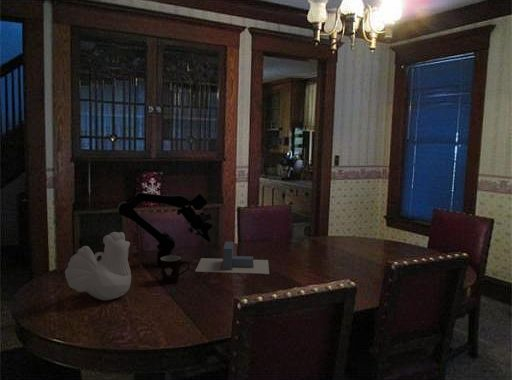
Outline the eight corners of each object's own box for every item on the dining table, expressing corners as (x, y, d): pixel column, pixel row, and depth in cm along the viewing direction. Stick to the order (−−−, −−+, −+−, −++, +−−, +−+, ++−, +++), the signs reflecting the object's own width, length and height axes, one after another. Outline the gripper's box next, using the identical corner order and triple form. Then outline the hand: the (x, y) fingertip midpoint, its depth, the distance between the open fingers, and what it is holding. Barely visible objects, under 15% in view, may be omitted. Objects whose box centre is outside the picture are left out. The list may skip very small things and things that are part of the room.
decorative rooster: (123, 285, 174) (123, 226, 171) (138, 297, 162) (138, 233, 159) (58, 298, 159) (56, 233, 156) (69, 312, 147) (67, 242, 144)
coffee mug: (155, 282, 180) (155, 259, 179) (169, 276, 187) (169, 254, 186) (177, 287, 174) (178, 263, 173) (190, 281, 182) (190, 258, 181)
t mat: (194, 272, 194) (194, 271, 194) (201, 258, 216) (201, 258, 216) (269, 274, 194) (269, 273, 194) (268, 260, 216) (268, 260, 216)
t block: (222, 269, 198) (223, 248, 197) (225, 261, 212) (225, 241, 211) (252, 270, 198) (253, 249, 197) (253, 261, 212) (253, 242, 211)
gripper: (210, 205, 201) (229, 231, 205) (196, 207, 217) (213, 230, 221) (193, 220, 196) (212, 246, 200) (179, 220, 213) (198, 244, 216)
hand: (209, 241), depth 210 cm, fingers closed
